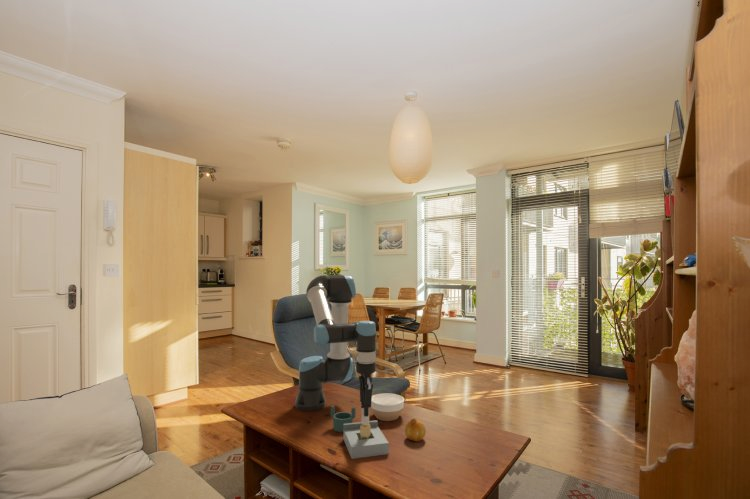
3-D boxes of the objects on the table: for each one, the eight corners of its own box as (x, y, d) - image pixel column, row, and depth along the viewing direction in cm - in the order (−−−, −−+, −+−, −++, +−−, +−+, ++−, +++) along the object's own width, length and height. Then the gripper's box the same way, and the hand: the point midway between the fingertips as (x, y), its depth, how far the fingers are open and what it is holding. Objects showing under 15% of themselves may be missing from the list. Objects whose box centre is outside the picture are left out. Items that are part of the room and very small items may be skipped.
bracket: (356, 429, 160) (357, 407, 160) (337, 433, 155) (337, 411, 156) (347, 421, 167) (347, 401, 168) (328, 426, 163) (328, 404, 163)
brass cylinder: (358, 444, 146) (359, 423, 146) (368, 443, 147) (368, 422, 147) (361, 449, 142) (361, 427, 142) (371, 448, 143) (371, 426, 143)
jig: (343, 439, 150) (343, 423, 150) (377, 435, 154) (377, 420, 154) (351, 458, 135) (351, 441, 135) (388, 453, 139) (388, 437, 139)
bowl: (399, 425, 164) (399, 406, 164) (364, 420, 169) (365, 402, 169) (408, 412, 179) (408, 395, 179) (376, 407, 184) (376, 391, 184)
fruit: (398, 434, 149) (409, 418, 149) (404, 428, 157) (414, 412, 156) (415, 449, 146) (426, 432, 145) (421, 442, 154) (431, 426, 153)
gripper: (352, 358, 151) (352, 418, 150) (360, 366, 139) (359, 431, 137) (370, 357, 153) (370, 416, 152) (379, 365, 141) (379, 429, 139)
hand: (365, 423), depth 145 cm, fingers closed
